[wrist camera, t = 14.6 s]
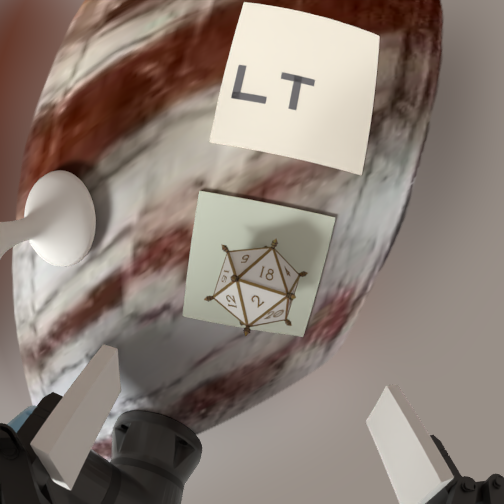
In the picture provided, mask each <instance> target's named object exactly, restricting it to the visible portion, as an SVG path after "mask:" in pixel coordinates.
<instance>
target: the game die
mask: <svg viewBox="0 0 504 504" xmlns="http://www.w3.org/2000/svg"><path fill="white" fill-rule="evenodd" d="M277 244H278V242H277V238H276V239H275V240H273V241H272V243H271V247H267V246H264V247H262V248H252V249H242V250H232V251H229V249H228V247H227V245H222V244H221V245H222V250H224V251H225V252H226V253H227V254H226V257H225V260H224V263H223V266H222V269H221V272H220V275H219V278H218V281H217V284H216V288H215V291H214V294H213V296H210V295H209V296H207V297H206V298H205V299H204V300H206V301H208V302H209V301H211V300H213V299H214V300H215V301H217V302H218V303H219V304H220V305H221V306H222V307H224V308H225V309H226V310H227V311H228V312H229V313H231V314H232V315H233V316H234V317H235V318H237V319H238V320H239V323H240V325H241V326H242V325H245V326H246V327H245V328H244V333H245V336H246V335H247V334H249V333H250V330H251V329H250V327H253V326H258V325H264V324H269V323H274V322H279V321H285V324H287V325H288V326H292V324H291V321H290V320H288V319H287V317H288V314H289V310H290V307H291V304H292V301H293V299H295V298H296V296H295V291H296V288H297V285H298V281H299V278H300V277H303V276H306V275H307V274H308V273H307V272H305V271H303V272H301V273H298V272H297V271H296V270H295V269H294V268H293V267H292V266H291V265H290V264H289V263H288V262H287V261H286V260H285V258H284V257H283V256H282V255H281V254H280V253H279V252H278V251H277V250H276V249H275V247H276V246H277Z"/></svg>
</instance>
